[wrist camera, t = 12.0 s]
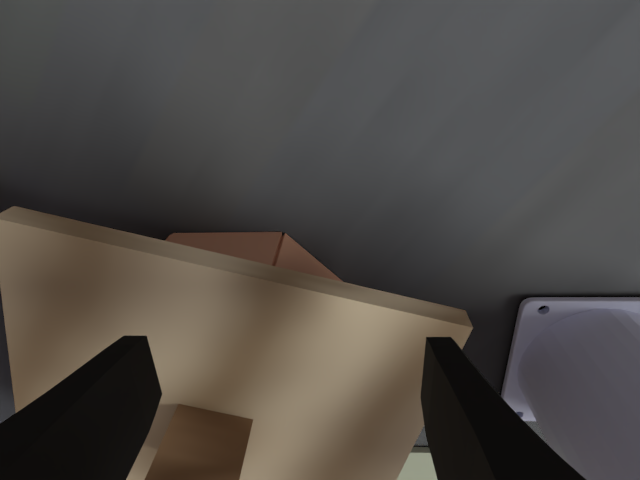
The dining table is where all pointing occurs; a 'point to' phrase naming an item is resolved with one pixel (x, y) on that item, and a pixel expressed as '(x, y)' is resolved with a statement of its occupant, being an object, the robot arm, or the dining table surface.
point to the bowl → (257, 249)
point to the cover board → (224, 351)
